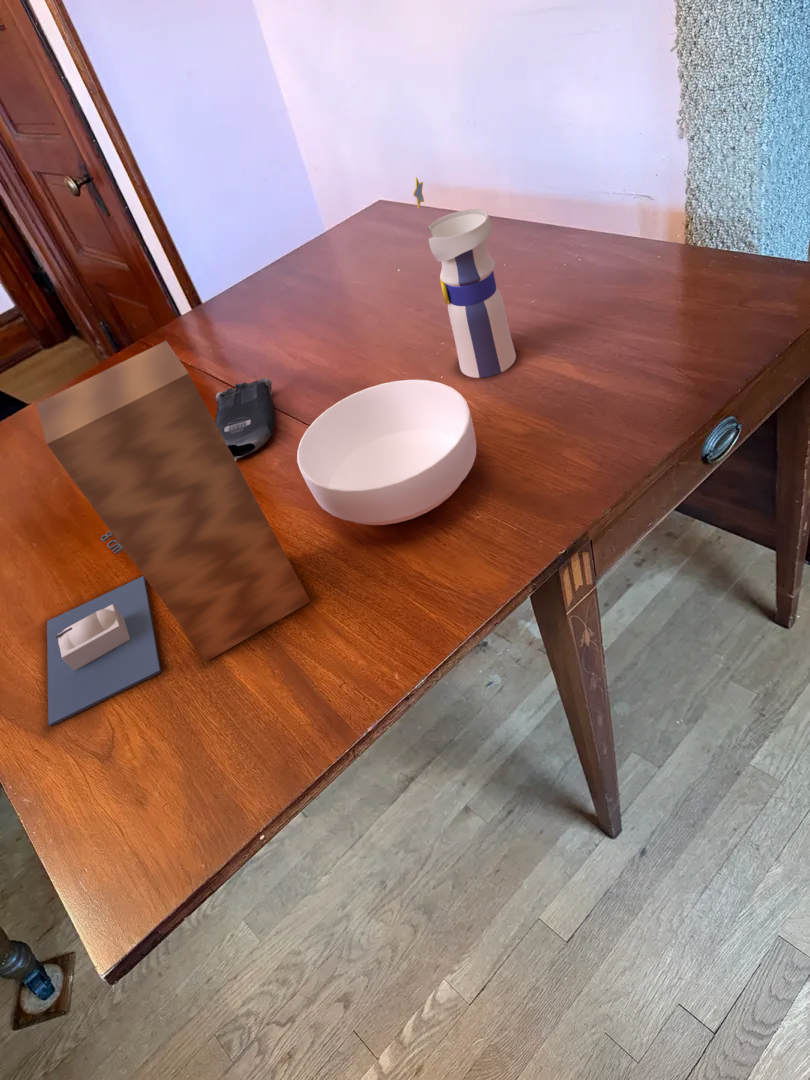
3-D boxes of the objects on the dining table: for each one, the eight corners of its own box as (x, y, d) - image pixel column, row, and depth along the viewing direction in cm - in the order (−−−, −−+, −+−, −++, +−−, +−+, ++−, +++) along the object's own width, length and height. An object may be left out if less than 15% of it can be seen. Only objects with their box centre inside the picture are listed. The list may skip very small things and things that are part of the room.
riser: (206, 661, 75) (46, 444, 57) (187, 615, 81) (35, 403, 63) (310, 601, 78) (188, 373, 59) (284, 560, 83) (165, 340, 65)
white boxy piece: (73, 671, 79) (54, 650, 77) (69, 648, 82) (49, 627, 80) (131, 639, 80) (113, 617, 78) (124, 617, 83) (107, 596, 81)
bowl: (516, 495, 81) (503, 433, 75) (354, 577, 78) (327, 519, 73) (441, 416, 95) (424, 359, 90) (302, 483, 93) (276, 429, 87)
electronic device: (219, 421, 112) (210, 467, 100) (209, 387, 109) (197, 430, 97) (280, 409, 113) (278, 454, 100) (271, 375, 110) (268, 416, 97)
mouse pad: (161, 672, 76) (159, 670, 76) (50, 726, 75) (48, 724, 74) (145, 577, 88) (143, 575, 88) (48, 623, 87) (46, 621, 86)
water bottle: (459, 386, 99) (411, 197, 83) (455, 354, 105) (409, 172, 89) (521, 371, 98) (484, 176, 81) (513, 339, 104) (477, 152, 87)
